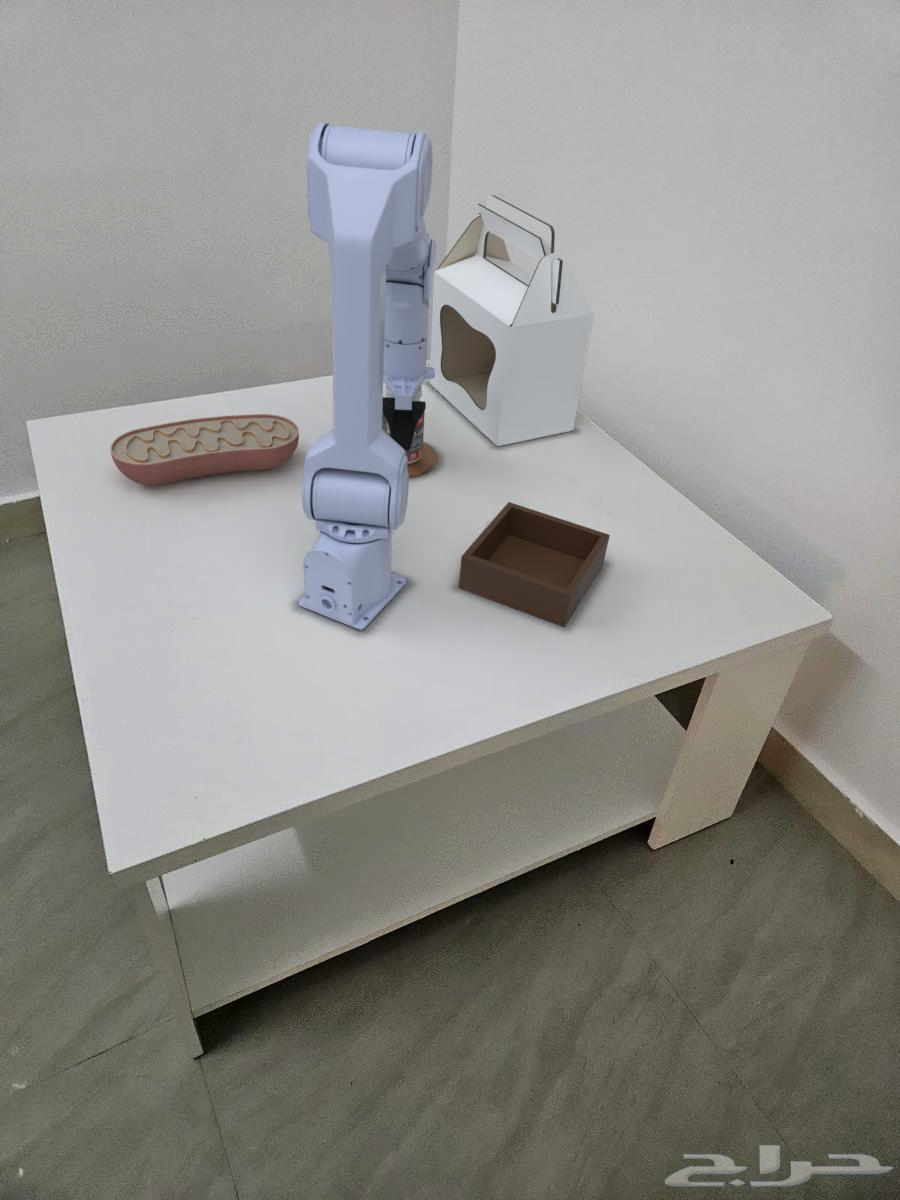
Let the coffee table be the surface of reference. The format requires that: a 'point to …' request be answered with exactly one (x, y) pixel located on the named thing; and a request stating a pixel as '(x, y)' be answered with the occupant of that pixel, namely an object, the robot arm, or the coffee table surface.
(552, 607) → the open box
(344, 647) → the coffee table surface
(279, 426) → the anatomical model
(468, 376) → the gable box
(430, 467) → the coaster
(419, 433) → the pill bottle
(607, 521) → the coffee table surface
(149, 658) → the coffee table surface
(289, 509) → the coffee table surface
